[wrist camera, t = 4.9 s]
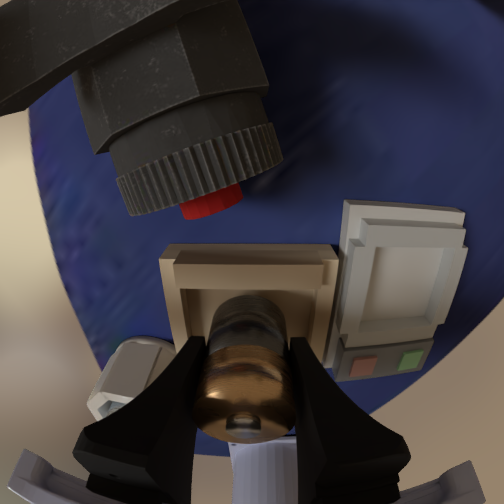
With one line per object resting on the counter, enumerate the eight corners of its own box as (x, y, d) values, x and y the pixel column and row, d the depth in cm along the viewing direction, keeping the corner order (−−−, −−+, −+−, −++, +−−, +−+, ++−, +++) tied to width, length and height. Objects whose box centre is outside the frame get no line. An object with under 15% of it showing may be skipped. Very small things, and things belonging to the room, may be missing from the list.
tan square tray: (314, 354, 17) (319, 381, 15) (186, 352, 17) (179, 379, 15) (329, 244, 14) (341, 264, 12) (169, 243, 14) (155, 263, 12)
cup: (203, 398, 19) (193, 454, 14) (129, 389, 19) (110, 438, 15) (192, 339, 17) (174, 404, 12) (106, 331, 17) (74, 384, 12)
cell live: (282, 353, 14) (289, 452, 9) (214, 350, 15) (196, 448, 9) (289, 296, 13) (304, 401, 8) (210, 293, 13) (182, 396, 8)
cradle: (414, 347, 17) (428, 370, 15) (321, 357, 17) (327, 384, 15) (455, 207, 13) (480, 221, 11) (343, 199, 13) (360, 213, 11)
